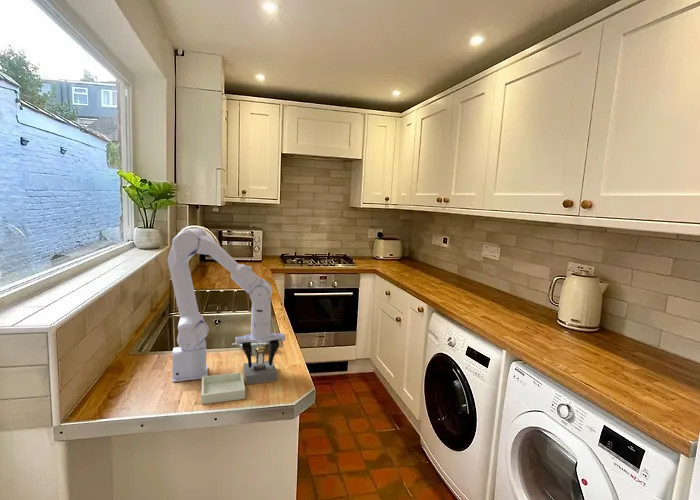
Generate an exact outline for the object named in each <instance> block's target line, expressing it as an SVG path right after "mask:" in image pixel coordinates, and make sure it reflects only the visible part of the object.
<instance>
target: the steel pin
mask: <svg viewBox="0 0 700 500" xmlns="http://www.w3.org/2000/svg"><path fill="white" fill-rule="evenodd" d="M255 352H256V355H255V356H256V357H255V362H256V371H261V370H264V361H265V353H266V352H267V347H265V346H263V345H262V346H259V347H256V348H255Z"/></svg>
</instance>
